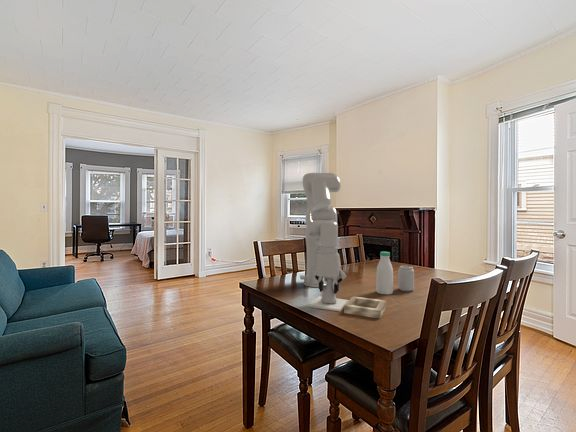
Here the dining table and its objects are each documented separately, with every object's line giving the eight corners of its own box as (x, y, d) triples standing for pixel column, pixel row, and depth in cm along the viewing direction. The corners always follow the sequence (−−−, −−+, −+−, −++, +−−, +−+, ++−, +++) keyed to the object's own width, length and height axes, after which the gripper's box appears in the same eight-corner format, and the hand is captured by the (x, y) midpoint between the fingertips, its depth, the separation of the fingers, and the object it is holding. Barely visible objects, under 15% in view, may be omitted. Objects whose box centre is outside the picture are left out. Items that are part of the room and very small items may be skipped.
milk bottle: (393, 295, 147) (394, 253, 146) (376, 294, 149) (377, 252, 148) (391, 291, 155) (392, 251, 154) (375, 290, 156) (376, 250, 155)
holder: (343, 313, 123) (344, 305, 123) (352, 303, 135) (352, 296, 135) (380, 318, 117) (380, 310, 116) (385, 307, 129) (386, 300, 129)
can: (413, 288, 159) (413, 265, 159) (414, 292, 152) (414, 268, 151) (398, 287, 161) (398, 264, 161) (398, 291, 154) (398, 267, 154)
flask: (318, 298, 137) (320, 276, 137) (335, 299, 138) (336, 277, 138) (321, 303, 130) (323, 279, 130) (338, 304, 130) (340, 280, 130)
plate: (307, 306, 130) (307, 304, 130) (318, 297, 143) (318, 295, 143) (339, 311, 124) (339, 309, 124) (348, 301, 137) (348, 300, 137)
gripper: (307, 250, 133) (306, 291, 134) (346, 252, 126) (345, 296, 127) (313, 248, 140) (313, 287, 141) (350, 250, 133) (350, 292, 133)
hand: (328, 291), depth 134 cm, fingers open, 5 cm apart
